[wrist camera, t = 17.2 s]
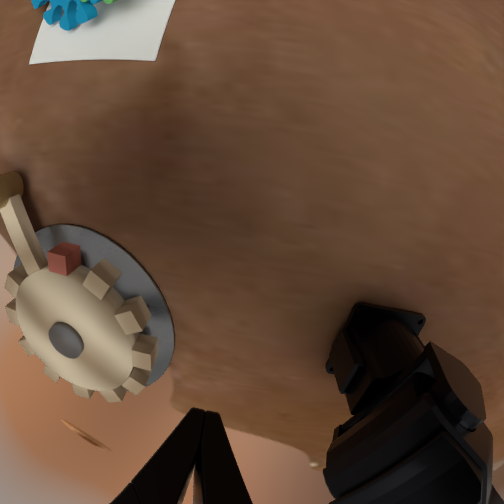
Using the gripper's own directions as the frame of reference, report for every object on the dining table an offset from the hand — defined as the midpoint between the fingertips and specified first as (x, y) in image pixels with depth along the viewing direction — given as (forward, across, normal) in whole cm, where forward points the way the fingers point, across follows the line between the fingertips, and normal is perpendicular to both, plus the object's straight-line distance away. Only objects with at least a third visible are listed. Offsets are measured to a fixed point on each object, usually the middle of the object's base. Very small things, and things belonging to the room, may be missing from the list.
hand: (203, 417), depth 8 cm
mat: (+12, +13, -18) cm, 25 cm away
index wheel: (+11, +13, +7) cm, 18 cm away
